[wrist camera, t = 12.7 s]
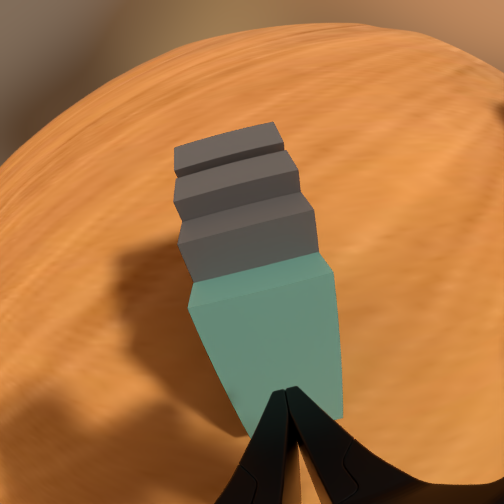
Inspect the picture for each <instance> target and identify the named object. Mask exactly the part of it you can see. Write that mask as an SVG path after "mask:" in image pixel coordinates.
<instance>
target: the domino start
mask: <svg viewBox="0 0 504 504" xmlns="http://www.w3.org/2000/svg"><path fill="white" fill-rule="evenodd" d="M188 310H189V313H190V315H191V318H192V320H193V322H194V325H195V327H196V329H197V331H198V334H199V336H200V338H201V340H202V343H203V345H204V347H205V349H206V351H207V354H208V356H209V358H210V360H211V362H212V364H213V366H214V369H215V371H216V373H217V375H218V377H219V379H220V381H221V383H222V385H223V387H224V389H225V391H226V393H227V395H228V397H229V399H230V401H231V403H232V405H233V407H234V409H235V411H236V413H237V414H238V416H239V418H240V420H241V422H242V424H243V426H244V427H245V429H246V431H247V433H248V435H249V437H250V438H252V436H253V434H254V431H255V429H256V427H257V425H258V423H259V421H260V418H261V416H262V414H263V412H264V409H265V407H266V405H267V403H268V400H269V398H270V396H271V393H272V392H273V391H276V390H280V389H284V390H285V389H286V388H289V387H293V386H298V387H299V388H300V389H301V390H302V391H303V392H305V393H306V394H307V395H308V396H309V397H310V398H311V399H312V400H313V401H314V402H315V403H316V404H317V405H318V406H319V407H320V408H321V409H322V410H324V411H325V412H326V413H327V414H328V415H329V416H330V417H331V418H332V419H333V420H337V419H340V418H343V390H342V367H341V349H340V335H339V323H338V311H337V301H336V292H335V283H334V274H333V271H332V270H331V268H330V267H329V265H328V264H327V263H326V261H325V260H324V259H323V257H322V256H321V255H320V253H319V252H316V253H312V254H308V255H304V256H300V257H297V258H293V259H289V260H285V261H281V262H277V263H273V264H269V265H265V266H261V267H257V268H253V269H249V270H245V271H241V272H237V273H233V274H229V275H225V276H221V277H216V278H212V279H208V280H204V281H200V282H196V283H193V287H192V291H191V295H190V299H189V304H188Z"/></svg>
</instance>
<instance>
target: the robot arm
mask: <svg viewBox="0 0 504 504" xmlns="http://www.w3.org/2000/svg"><path fill="white" fill-rule="evenodd" d="M297 442H298V443H297ZM298 445H299V448H300V451H301V454H302V457H303V459H304V462H305V464H306V467H307V469H308V472H309V474H310V477H311V480H312V482H313V485H314V487H315V490H316V492H317V495H318V497H319V499H320V502H321V504H504V477H503V478H501V479H499V480H497V481H495V482H492V483H488V484H478V485H449V484H432V483H427V482H424V481H421V480H418V479H416V478H414V477H412V476H411V475H409V474H407V473H405V472H403V471H401V470H400V469H398V468H396V467H394V466H393V465H391V464H389V463H387V462H386V461H384V460H382V459H381V458H379V457H378V456H376V455H375V454H373V453H372V452H371V451H369V450H368V449H367V448H365V447H364V446H363V445H362V444H361V443H359V442H358V441H357V440H356V439H354V438H353V437H352V436H351V435H350V434H349V433H348V432H347V431H346V430H344V429H343V428H342V427H341V426H340V425H339V424H338V423H337V422H336V421H334V420H333V419H332V418H331V417H330V416H329V415H328V414H327V413H326V412H325V411H324V410H322V409H321V408H320V407H319V406H318V405H317V404H316V403H315V402H314V401H313V400H312V399H311V398H310V397H309V396H308V395H307V394H306V393H305V392H303V391H302V390H301V389H300V388H299V387H298V386H293V387H289V388H286V389H285V390H284V389H280V390H276V391H273V392H272V393H271V396H270V398H269V400H268V403H267V405H266V407H265V409H264V412H263V414H262V416H261V418H260V421H259V423H258V425H257V427H256V429H255V431H254V434H253V436H252V438H251V440H250V442H249V444H248V446H247V448H246V450H245V452H244V454H243V456H242V458H241V460H240V462H239V465H238V466H237V468H236V470H235V472H234V474H233V476H232V478H231V479H230V481H229V483H228V485H227V486H226V488H225V489H224V491H223V492H222V493H221V495H220V496H219V498H218V499H217V500H216V502H215V503H214V504H301V485H300V466H299V450H298Z"/></svg>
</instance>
